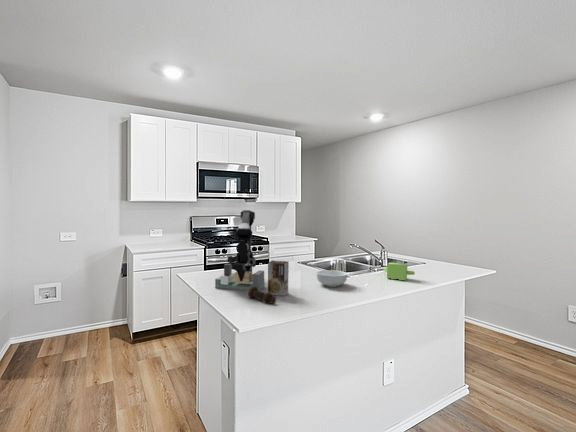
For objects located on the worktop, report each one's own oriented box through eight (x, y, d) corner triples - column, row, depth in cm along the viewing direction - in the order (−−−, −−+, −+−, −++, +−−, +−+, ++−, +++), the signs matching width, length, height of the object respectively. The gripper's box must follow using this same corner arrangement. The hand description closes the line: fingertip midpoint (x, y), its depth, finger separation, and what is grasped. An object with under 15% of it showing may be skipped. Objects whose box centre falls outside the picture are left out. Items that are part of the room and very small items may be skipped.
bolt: (273, 308, 146) (250, 300, 156) (279, 301, 149) (257, 293, 159) (268, 299, 144) (246, 291, 154) (275, 291, 147) (253, 284, 157)
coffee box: (288, 292, 165) (289, 261, 164) (284, 296, 159) (284, 263, 158) (272, 291, 168) (272, 260, 167) (267, 294, 162) (267, 262, 161)
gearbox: (415, 279, 200) (416, 264, 199) (413, 282, 191) (414, 266, 191) (385, 275, 208) (386, 261, 208) (381, 278, 199) (382, 262, 199)
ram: (227, 280, 181) (227, 262, 181) (234, 280, 180) (234, 263, 180) (220, 284, 172) (220, 265, 172) (227, 284, 171) (227, 266, 171)
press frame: (223, 282, 182) (223, 267, 182) (264, 286, 177) (264, 270, 176) (215, 287, 173) (215, 271, 172) (257, 291, 167) (258, 274, 167)
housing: (238, 279, 178) (238, 270, 178) (252, 280, 176) (252, 271, 176) (234, 282, 172) (234, 273, 172) (248, 283, 170) (248, 274, 170)
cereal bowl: (350, 283, 186) (350, 271, 185) (342, 290, 171) (342, 277, 170) (322, 280, 193) (322, 268, 192) (312, 286, 178) (312, 273, 177)
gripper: (236, 247, 184) (236, 274, 185) (222, 252, 166) (222, 282, 167) (255, 248, 182) (254, 276, 182) (242, 253, 164) (242, 284, 164)
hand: (243, 279), depth 174 cm, fingers closed on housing, 6 cm apart
